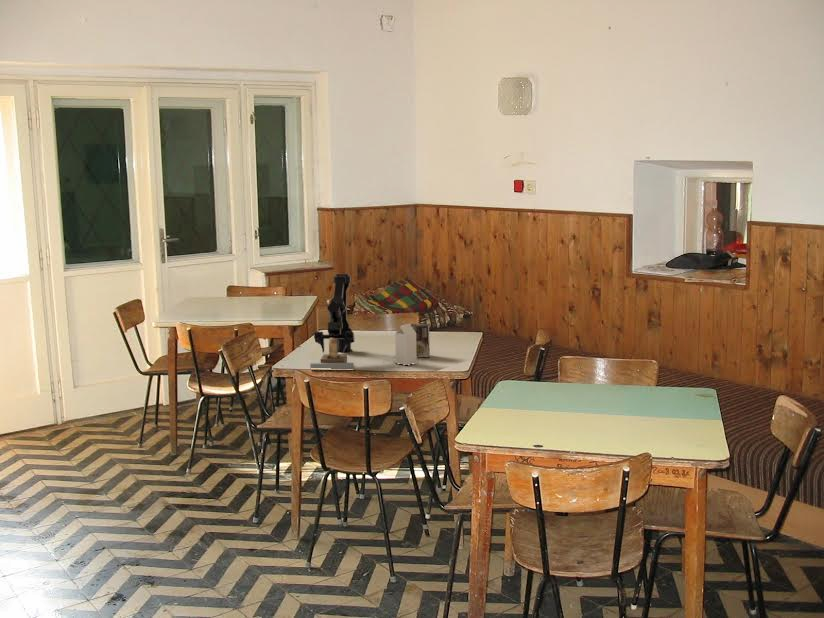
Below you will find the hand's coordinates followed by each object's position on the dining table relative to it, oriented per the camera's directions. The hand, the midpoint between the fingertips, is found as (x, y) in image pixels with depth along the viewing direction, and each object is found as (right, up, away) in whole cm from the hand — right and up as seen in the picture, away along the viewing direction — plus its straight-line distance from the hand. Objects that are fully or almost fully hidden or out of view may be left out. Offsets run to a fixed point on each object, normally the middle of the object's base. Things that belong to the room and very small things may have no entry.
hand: (333, 352), depth 448 cm
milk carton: (+34, -6, +8) cm, 36 cm away
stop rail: (0, -8, -3) cm, 9 cm away
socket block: (0, -7, +4) cm, 8 cm away
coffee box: (+41, -3, +23) cm, 47 cm away
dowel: (0, -6, +3) cm, 7 cm away
